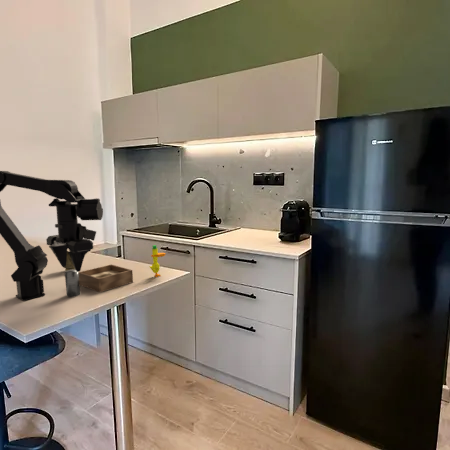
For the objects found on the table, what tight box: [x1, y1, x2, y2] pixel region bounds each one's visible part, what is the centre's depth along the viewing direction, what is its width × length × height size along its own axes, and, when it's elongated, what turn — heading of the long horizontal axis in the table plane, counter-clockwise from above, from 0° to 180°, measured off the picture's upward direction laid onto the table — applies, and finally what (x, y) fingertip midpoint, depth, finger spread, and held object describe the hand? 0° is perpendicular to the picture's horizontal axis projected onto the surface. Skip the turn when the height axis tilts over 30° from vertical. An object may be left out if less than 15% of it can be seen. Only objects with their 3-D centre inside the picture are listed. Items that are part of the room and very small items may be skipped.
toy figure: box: [148, 245, 167, 278], centre depth 125 cm, size 7×4×12 cm, turn 119°
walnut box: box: [79, 264, 134, 293], centre depth 117 cm, size 13×13×4 cm
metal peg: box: [64, 269, 81, 298], centre depth 106 cm, size 4×4×8 cm
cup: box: [62, 250, 75, 272], centre depth 133 cm, size 8×7×8 cm
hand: (71, 269), depth 105 cm, fingers open, 9 cm apart
